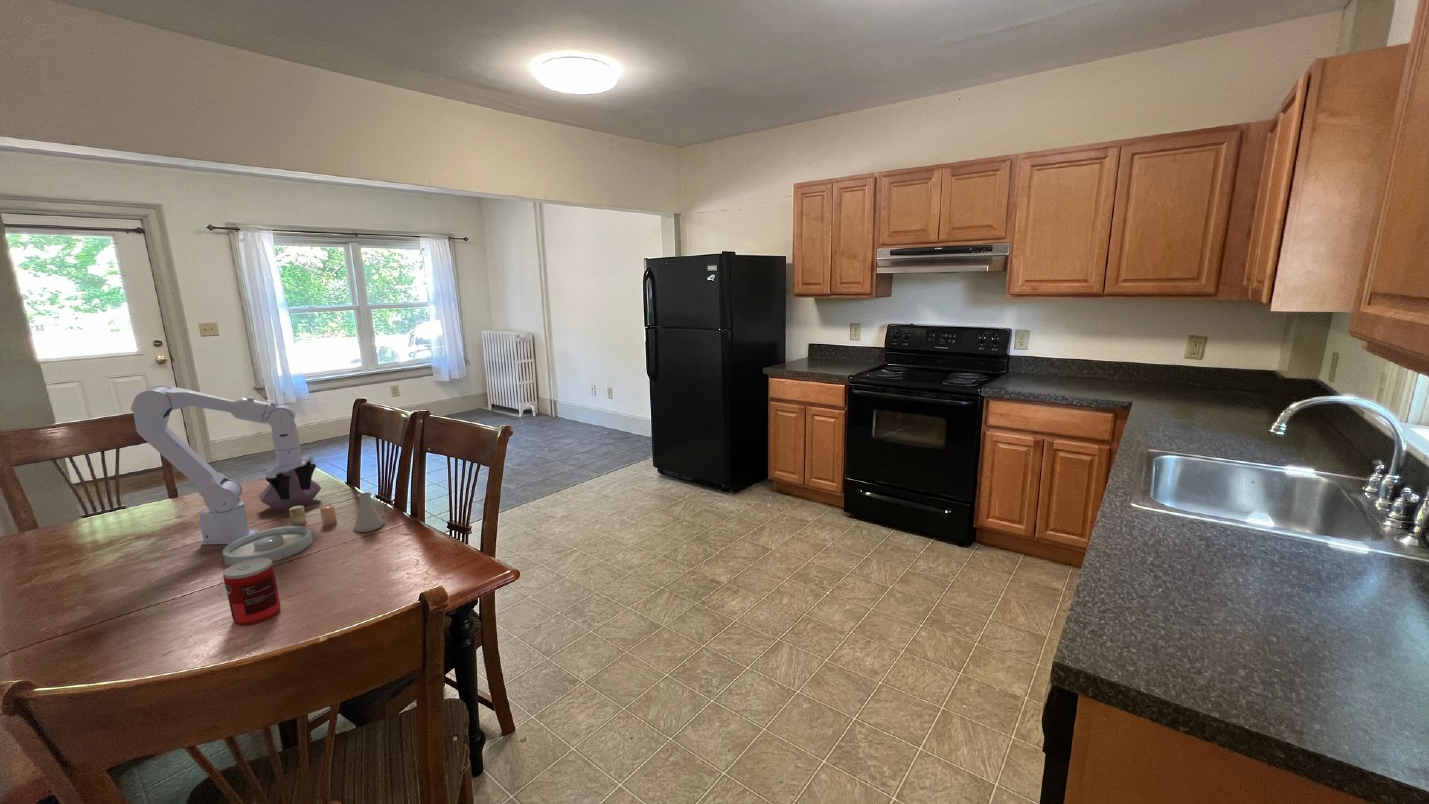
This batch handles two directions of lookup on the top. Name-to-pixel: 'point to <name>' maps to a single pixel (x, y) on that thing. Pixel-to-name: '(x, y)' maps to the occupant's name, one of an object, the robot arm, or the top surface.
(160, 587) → the top surface
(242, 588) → the canned food
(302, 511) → the tan rounded cylinder
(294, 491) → the flask
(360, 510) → the flask
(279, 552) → the groove tray
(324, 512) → the peach rounded cylinder
